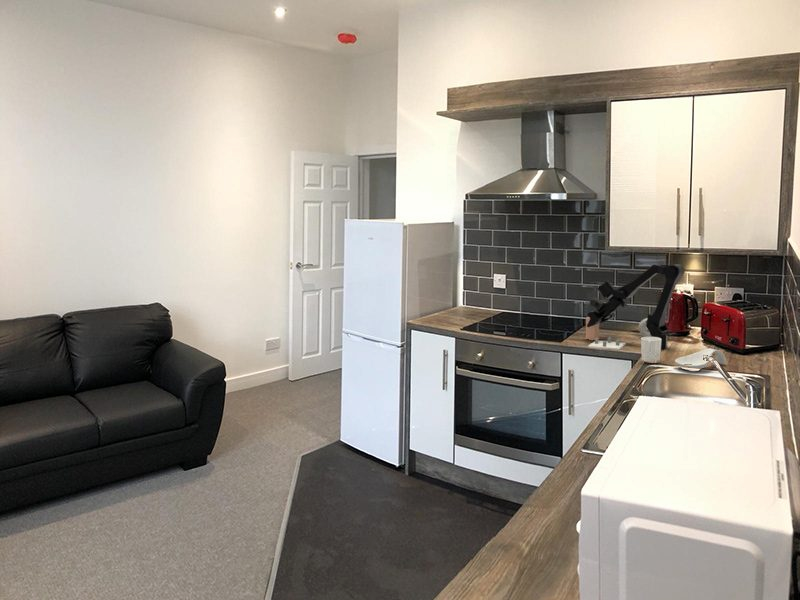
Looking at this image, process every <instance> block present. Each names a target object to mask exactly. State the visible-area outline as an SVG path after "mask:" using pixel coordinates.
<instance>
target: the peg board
mask: <svg viewBox="0 0 800 600" xmlns="http://www.w3.org/2000/svg"><path fill="white" fill-rule="evenodd" d="M626 343H627V342H622V341H621V340H620V339H615V341H612V337H611V336H608V337H607V340H600V339H598V338H595V341H593V342H591V343H589V345H587V348H588V349H589V348H590V349H598V350H599V349H601V350H612V351H620V350H621V349H622V348H623V347H625V345H627V344H626Z"/></svg>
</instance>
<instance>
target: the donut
mask: <svg viewBox="0 0 800 600" xmlns="http://www.w3.org/2000/svg"><path fill="white" fill-rule="evenodd" d="M647 319H648V317H646V318H644V319H642V320H641V321H640V322H639V324H638V331H639V333H640V335H642V336H643V337H652V336H651V335H650V332H649V330H648V329H647V327H646V323H647V322H646V321H647Z"/></svg>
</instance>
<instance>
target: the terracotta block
mask: <svg viewBox="0 0 800 600" xmlns="http://www.w3.org/2000/svg"><path fill="white" fill-rule="evenodd" d="M589 321H590V318H589V317H588V316H586V318H585V340H586V339H589V341H593V340H595V338H598V340H600V324H599V323H598V324H596V325H593V326H591V327H587V324H588V322H589Z"/></svg>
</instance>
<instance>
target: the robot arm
mask: <svg viewBox="0 0 800 600" xmlns="http://www.w3.org/2000/svg"><path fill="white" fill-rule="evenodd" d="M685 271H686V269H685V267H684V266H683V265H682V264H680V263H676V264H671V265H670V264H661V263H654V264H652V265H651V266H650V267H649V268H648V269H646V270H645V271H644V272H642V273H641V274H640V275H639V276H638V277H636V278H635V279H634V280H632V281H631V282H629V283H627V284H625V285H623V286H620V287H618V288H615V287H614V286H613V285H612V283H611V282H610V281H609V280H606V281H605V282H603V284H601V285H598V287H597V288H596V290H597V291H598V292H599V294H600V295H601V296H602V297H603V299H607V301H606V302H604V301H603V300H601V299H599V298H597V297H593V298H592V299H590V300H589V305H590V306H592V307H593V308H595V310H592V311H591V310H590V311H589V312H587V314H586V315H587V317H589V318H590V321H589V322H588V324H587V327H591V326H593V325H596V324H598V323H599V325H600V324H602V323H604V322H609V320H613V319H614V318H615V317H616V312H617V310H618V309H619V308H620V307H622V308H625V307H628V300H626V299H630V298H632V297H634V295H635V294H637V292H638V290H639V289H640V287H642V286H643V285H645V284H646V283H647V282H648V281H650V280H651V279H653V278H654V277H655V276H656V275H657V274H659V275H663V276H664V280H665V283H664V286H663V288H662V291H661V293H660V296H659V299H658V302H657V304H656V307H655V310H654V311H653V312H651V313H649V314H648V316H647V318H648V319H647V321H646V322H647V323H646V330H647V331H649V332H650V335H651V336H652V337H658V338H661V339H662V340H661V350H664V349H665V350H666V349H667V348H668V334H669V332H670V328H669V327H668V326H667V325H666V312H667V310H668V308H669V304H670V302H671V299H672V297H673V293H674V291H675V289H676V287H677V284H678V283H679V282H681V279H682V278H683V276H684V274H685V273H686V272H685Z"/></svg>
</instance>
